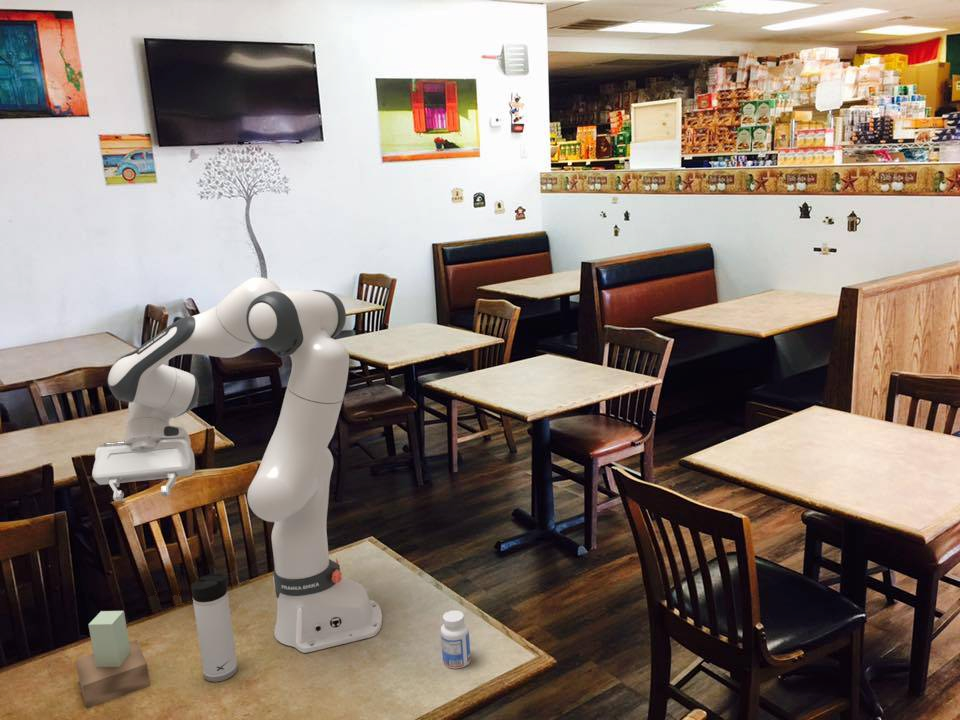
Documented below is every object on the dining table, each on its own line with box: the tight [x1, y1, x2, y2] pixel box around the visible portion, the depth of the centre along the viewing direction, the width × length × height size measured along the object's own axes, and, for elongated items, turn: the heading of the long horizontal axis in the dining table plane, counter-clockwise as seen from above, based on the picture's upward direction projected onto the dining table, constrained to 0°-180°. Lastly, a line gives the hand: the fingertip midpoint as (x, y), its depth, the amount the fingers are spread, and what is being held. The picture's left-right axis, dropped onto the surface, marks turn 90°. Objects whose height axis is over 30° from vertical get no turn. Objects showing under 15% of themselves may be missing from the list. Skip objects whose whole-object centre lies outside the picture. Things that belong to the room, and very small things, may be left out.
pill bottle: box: [440, 609, 471, 670], centre depth 149 cm, size 6×5×10 cm
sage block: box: [87, 610, 131, 667], centre depth 147 cm, size 4×4×9 cm
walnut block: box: [75, 639, 151, 709], centre depth 148 cm, size 11×10×5 cm
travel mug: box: [190, 572, 238, 683], centre depth 148 cm, size 6×7×20 cm
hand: (141, 497), depth 162 cm, fingers open, 8 cm apart
